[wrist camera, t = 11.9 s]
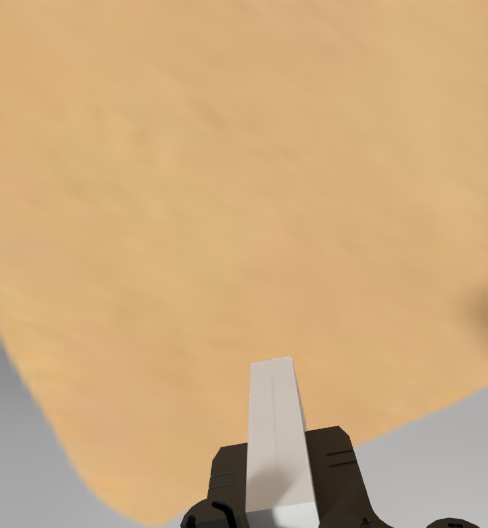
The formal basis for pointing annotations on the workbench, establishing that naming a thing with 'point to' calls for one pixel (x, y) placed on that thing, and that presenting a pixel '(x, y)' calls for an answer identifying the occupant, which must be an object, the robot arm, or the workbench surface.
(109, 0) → the workbench surface
